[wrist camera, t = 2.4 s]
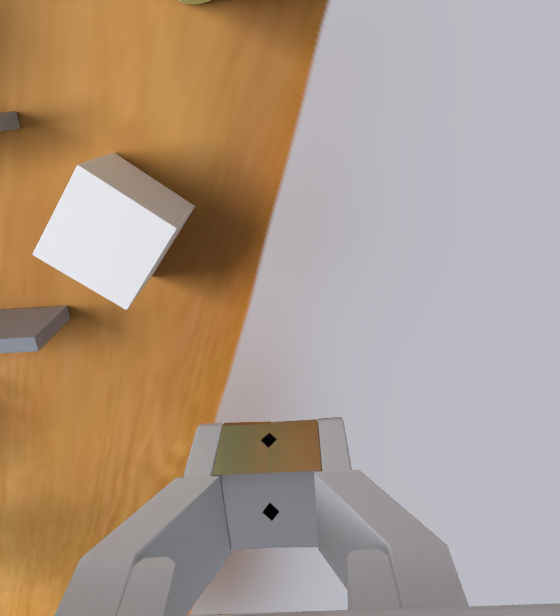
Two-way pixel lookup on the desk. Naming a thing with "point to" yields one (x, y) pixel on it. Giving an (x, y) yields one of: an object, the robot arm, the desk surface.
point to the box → (27, 321)
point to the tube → (193, 1)
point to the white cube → (112, 228)
